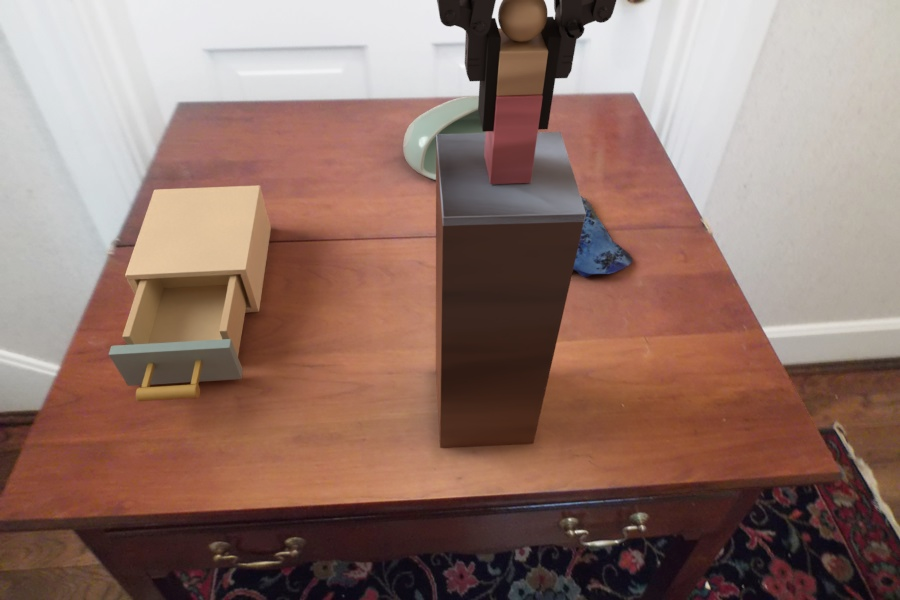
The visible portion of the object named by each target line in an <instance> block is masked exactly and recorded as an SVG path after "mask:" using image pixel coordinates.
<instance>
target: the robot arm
mask: <svg viewBox="0 0 900 600" xmlns="http://www.w3.org/2000/svg"><path fill="white" fill-rule="evenodd" d="M496 1H497V0H436V3H437V9H438V14H439V19H440V22H441V24H442V25H444V26H445V27H455V26H456V27H459V28H461V29H463V30H464V31H465V40H464V41H465V42H464V43H465V45H464V68H465V71H466V76H467V78H468V81H469V82H479V85H478V97H479V102H478V112H479V117H480V121H481V126H482V131H483V132H486V131H494V118H495V105H496V96H497V94H496V92H497V80H498V67H499V54H500V45H501V36H500V33H499V30H498V28H499V27H498V22H497V19H496V17H493V15H494V11H495V7H496ZM616 4H617V0H553V9H554V13H555V15H554V16H547V21H546V24H545V27H544V29H543V30H542V32H541V34H542V37H543V39H544V42H545V45H546V47H547V50H548V56H547V64H546V71H545V78H544V86H543V93H542V96H543V98H542V105H541V112H540V119H539V127H538V131H539V130H542V131H543V130H548V129H549V122H550V116H551V110H552V104H553V96H554V91H555V85H556V84H555V83H556V79H568V77H569V76H570V74H571V72H572V69H573V62H574V56H575V51H576V45H577V40H579V39H580V38H581V37H582V36H583V35H584V33H585V26H586V25H588V24H591V23H593V22H597V23H599V24H600V23H606V22H608V21H609V20H610V19H611V18H612V16H613V13H614V10H615V7H616Z"/></svg>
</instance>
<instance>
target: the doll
mask: <svg viewBox="0 0 900 600" xmlns="http://www.w3.org/2000/svg"><path fill="white" fill-rule="evenodd" d="M497 13H498V14H497V20H498V25H499V27H500V28H499V27H498V30H499V33H500V36H501V45H500V54H499V67H498V80H497V92H496V94H497V96H496V105H495V118H494V131H486V138H485V153H484V157H485V162H486V167H487V171H488V176H489V181H490V184H514V183H531V177H532V170H533V163H534V156H535V148H536V141H537V134H538V132H539V130H538V127H539V119H540V112H541V105H542V98H543V96H542V93H543V86H544V78H545V71H546V64H547V56H548V50H547V47H546V45H545V42H544V39H543V37H542V34H541V32H542V30H543V29H544V27H545V24H546V21H547V17H548V6H547V3H546V1H545V0H502V1H501V3H500V5H499V7H498V12H497Z"/></svg>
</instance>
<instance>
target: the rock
mask: <svg viewBox="0 0 900 600" xmlns="http://www.w3.org/2000/svg"><path fill="white" fill-rule="evenodd" d="M580 196H581V199H582V202H583V206H584V209H585V212H586V216H585V220H584V224H583V229H582V233H581V237H580V242H579V246H578V250H577V255H576V259H575V264H574V268H573V271H575V272H577V273H578V274H579V275H580V276H581V277H584V278H588V277H590V276H595V275H609V274H613V273H616V272H618V271H621V270H624V269H625V268H627V267H629V266H630V265H631V264H632V263H633V257H632V256H631V255H630V253H628V251H626V250H625V249H624V248H622V247H621V246H620V245H619V244H617V242H615V241H614V240H613V238H611V236H610V233H609V232H608V230H607V229H606V228H605V226H604V225H603V223H602V222H601V220H600V218H599V217H598V214H597V213H596V211H595V209H594V207H593V204H592V203H591V202H590V201H588V199H587V198H586V197H584V196H582V195H580Z"/></svg>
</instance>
